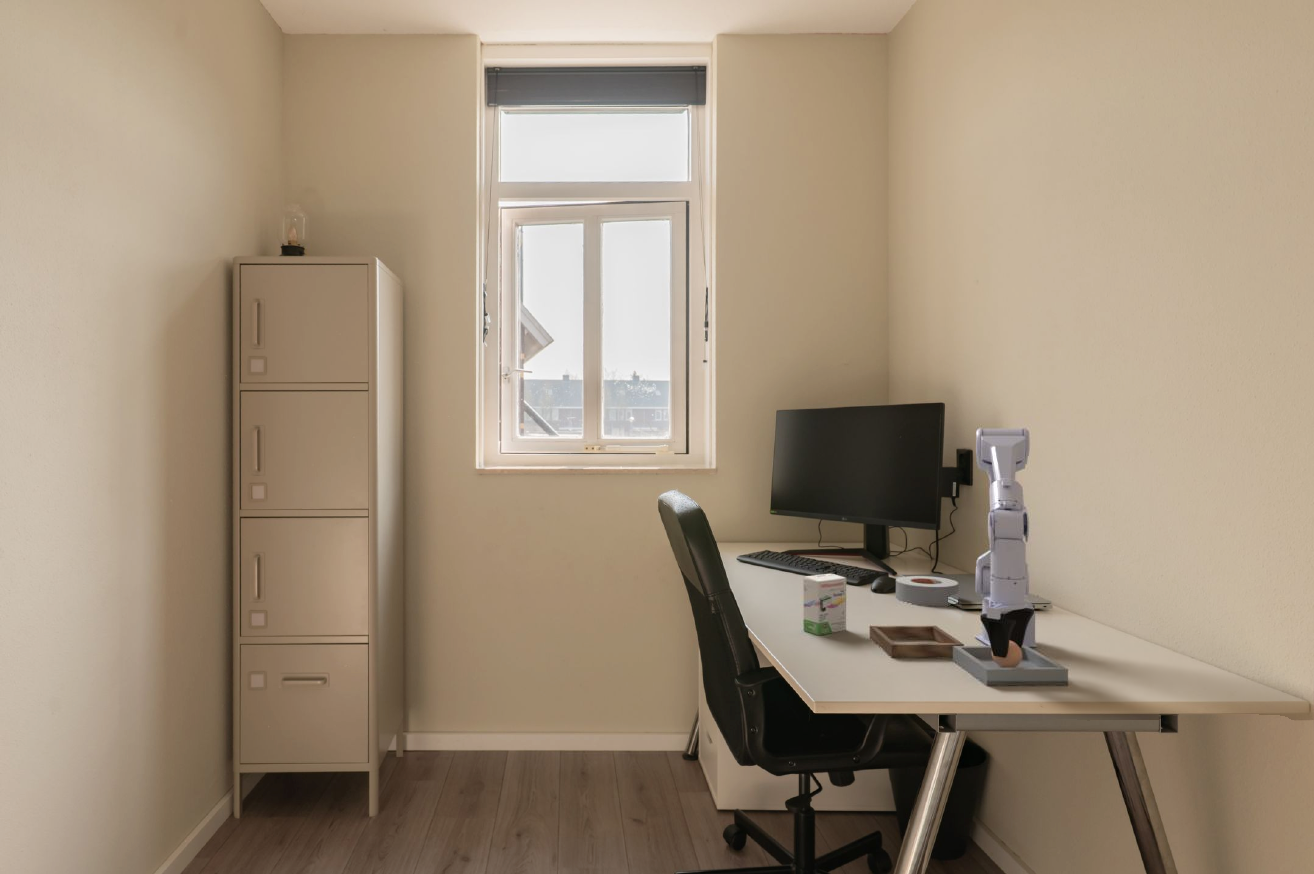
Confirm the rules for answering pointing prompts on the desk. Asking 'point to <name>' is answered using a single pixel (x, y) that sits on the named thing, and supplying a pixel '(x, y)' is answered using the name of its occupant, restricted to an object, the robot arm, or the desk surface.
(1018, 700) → the desk surface
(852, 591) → the desk surface
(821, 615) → the ink box
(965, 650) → the tray
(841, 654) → the desk surface
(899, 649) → the square wooden frame
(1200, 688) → the desk surface
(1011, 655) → the ball
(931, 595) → the tape roll
